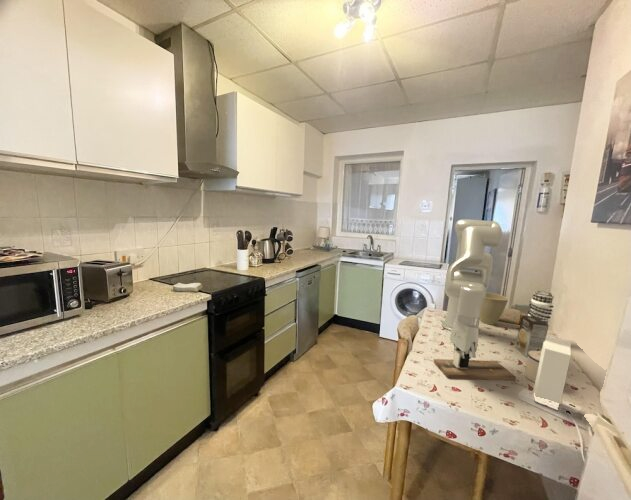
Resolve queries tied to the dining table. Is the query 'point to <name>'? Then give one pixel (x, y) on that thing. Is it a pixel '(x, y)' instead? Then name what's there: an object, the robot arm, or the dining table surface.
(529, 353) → the teacup with lid
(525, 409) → the dining table surface
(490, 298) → the plant pot
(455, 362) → the fader tab
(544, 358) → the milk
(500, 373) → the wooden board
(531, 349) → the coffee box
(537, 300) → the decorative candle
